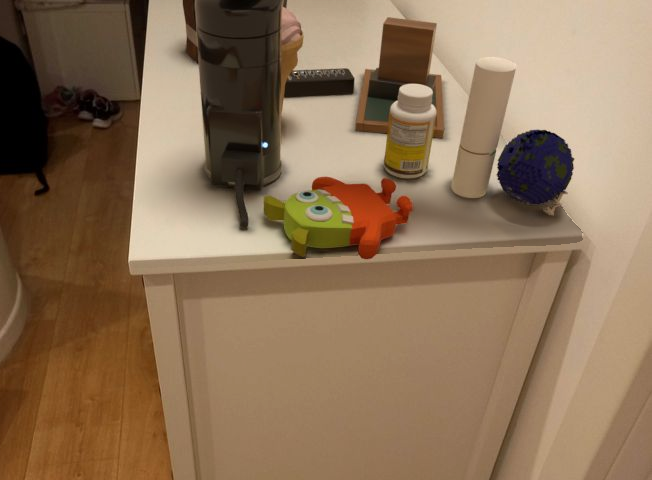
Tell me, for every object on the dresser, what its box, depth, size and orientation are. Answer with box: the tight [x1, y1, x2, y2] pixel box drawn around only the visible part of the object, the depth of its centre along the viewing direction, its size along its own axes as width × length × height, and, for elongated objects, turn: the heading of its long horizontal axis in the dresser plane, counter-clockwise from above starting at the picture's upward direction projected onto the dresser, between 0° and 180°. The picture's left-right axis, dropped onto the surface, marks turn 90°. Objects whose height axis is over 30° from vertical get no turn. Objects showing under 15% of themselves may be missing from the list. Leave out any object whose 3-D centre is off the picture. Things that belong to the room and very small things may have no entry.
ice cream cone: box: [281, 7, 304, 116], centre depth 89 cm, size 11×11×20 cm
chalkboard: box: [355, 68, 445, 139], centre depth 102 cm, size 20×12×1 cm, turn 173°
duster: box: [368, 16, 438, 101], centre depth 98 cm, size 5×9×10 cm, turn 73°
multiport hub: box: [284, 67, 356, 98], centre depth 104 cm, size 4×11×2 cm, turn 101°
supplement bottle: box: [383, 84, 437, 179], centre depth 84 cm, size 6×6×10 cm
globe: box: [496, 129, 575, 217], centre depth 79 cm, size 8×8×8 cm
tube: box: [450, 56, 517, 199], centre depth 79 cm, size 4×4×15 cm
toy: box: [263, 176, 414, 260], centre depth 75 cm, size 15×4×15 cm
